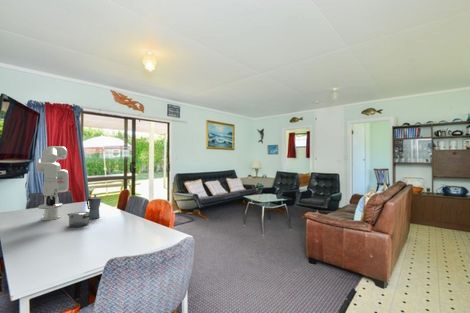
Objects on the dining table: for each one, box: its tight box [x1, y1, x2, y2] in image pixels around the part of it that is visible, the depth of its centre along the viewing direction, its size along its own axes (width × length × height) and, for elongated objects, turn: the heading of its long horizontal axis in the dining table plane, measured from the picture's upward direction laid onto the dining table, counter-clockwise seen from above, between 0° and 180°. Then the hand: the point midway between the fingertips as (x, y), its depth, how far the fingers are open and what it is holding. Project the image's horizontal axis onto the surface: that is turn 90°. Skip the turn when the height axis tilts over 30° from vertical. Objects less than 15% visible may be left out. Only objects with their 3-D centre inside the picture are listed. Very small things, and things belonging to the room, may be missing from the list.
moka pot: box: [86, 194, 102, 220], centre depth 200 cm, size 10×15×20 cm, turn 174°
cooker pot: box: [67, 211, 91, 229], centre depth 179 cm, size 21×13×9 cm, turn 72°
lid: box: [37, 198, 64, 210], centre depth 170 cm, size 14×14×6 cm
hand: (50, 204), depth 170 cm, fingers closed on lid, 3 cm apart
